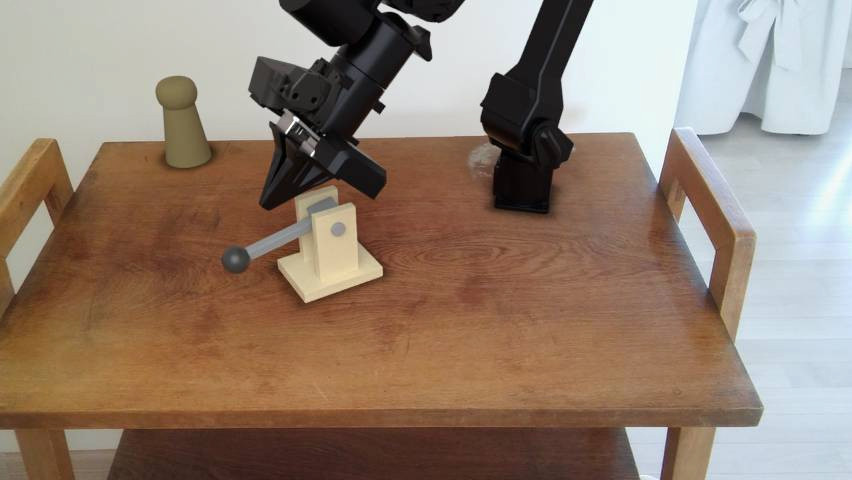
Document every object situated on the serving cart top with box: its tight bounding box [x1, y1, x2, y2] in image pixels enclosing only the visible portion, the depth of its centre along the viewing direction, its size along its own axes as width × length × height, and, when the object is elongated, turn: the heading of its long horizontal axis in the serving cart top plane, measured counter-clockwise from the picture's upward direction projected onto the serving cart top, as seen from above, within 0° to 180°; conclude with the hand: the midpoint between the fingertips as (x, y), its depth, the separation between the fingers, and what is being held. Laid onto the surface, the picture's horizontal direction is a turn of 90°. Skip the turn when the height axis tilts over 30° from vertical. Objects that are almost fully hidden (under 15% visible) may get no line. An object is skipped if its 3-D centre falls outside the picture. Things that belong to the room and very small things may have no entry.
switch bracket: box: [276, 184, 384, 304], centre depth 79 cm, size 9×7×9 cm
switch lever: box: [221, 197, 340, 275], centre depth 76 cm, size 13×3×3 cm, turn 119°
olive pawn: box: [154, 75, 212, 169], centre depth 100 cm, size 6×6×11 cm
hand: (263, 207), depth 73 cm, fingers closed
